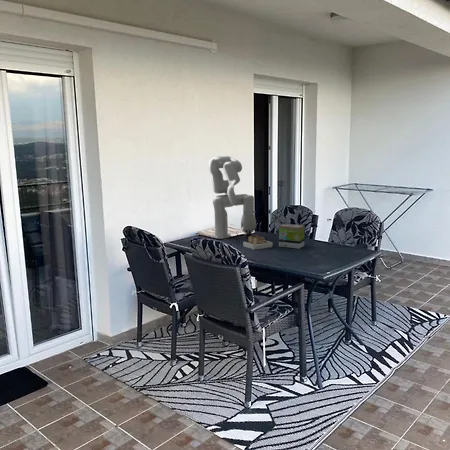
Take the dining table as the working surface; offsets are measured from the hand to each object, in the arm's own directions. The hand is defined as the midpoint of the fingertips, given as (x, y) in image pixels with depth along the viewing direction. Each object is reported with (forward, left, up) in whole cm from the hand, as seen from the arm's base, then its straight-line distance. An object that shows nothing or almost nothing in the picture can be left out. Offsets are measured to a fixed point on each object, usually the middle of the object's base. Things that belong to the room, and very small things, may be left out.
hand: (248, 238), depth 328 cm
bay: (+11, 0, -3) cm, 12 cm away
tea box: (+24, +19, -4) cm, 31 cm away
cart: (+10, 0, -3) cm, 11 cm away
